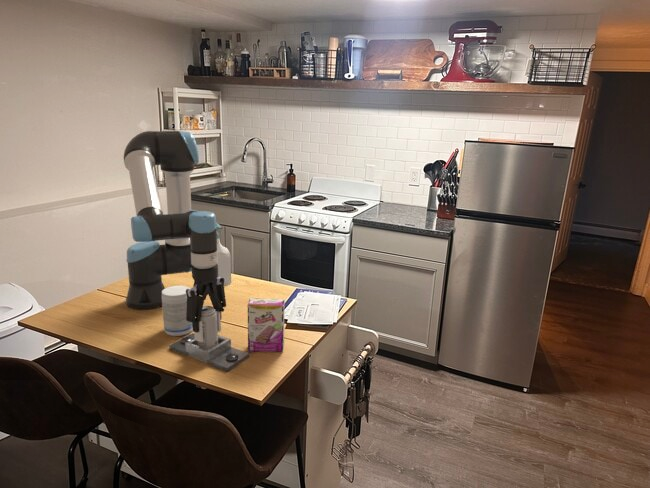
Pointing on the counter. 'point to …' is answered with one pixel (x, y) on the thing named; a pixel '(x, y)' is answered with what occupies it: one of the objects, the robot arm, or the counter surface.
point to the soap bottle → (223, 261)
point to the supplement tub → (175, 311)
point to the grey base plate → (211, 352)
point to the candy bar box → (266, 325)
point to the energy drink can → (209, 328)
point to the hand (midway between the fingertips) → (208, 335)
